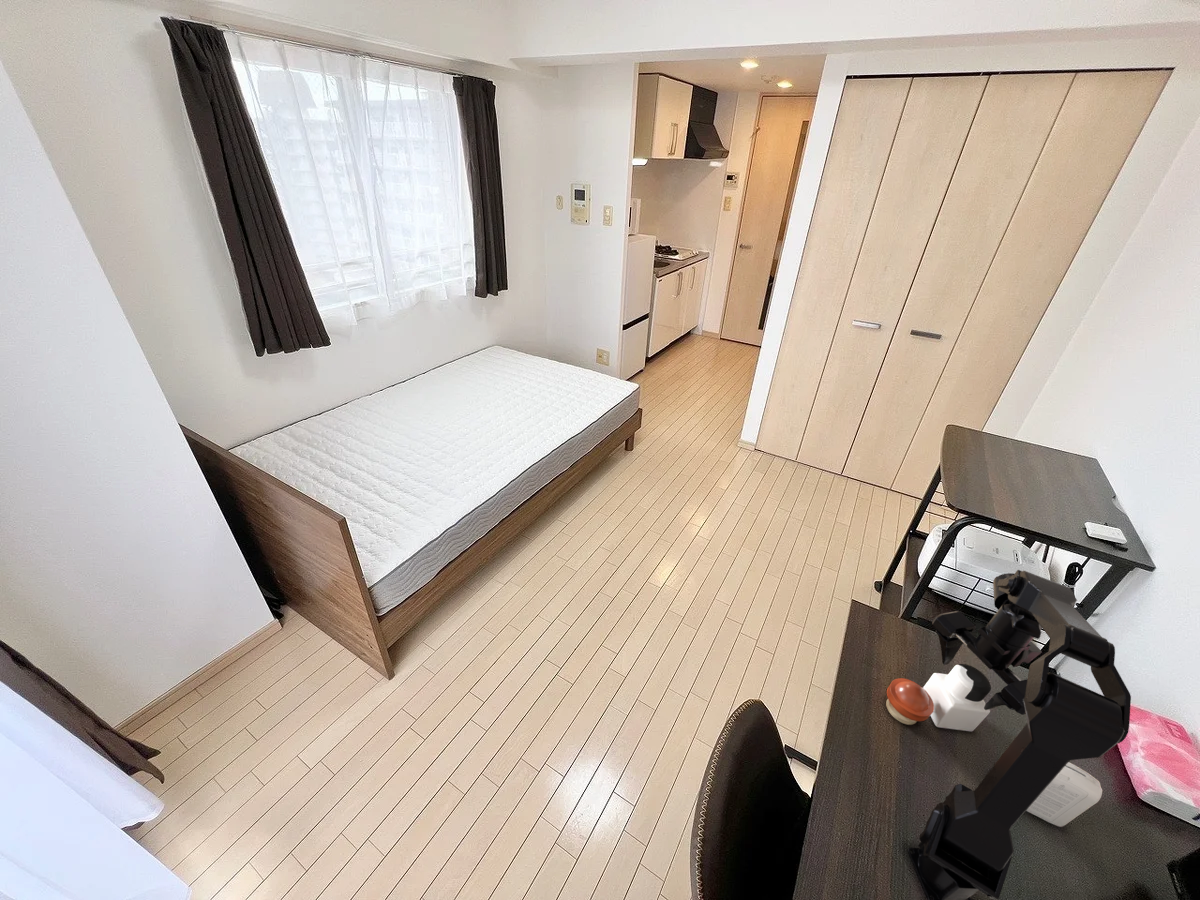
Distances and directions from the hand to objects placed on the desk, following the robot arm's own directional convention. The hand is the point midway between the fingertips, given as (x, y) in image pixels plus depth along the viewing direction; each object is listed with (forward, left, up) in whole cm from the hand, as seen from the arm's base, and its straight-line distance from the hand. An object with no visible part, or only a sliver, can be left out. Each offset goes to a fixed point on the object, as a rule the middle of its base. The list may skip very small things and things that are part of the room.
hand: (965, 685), depth 91 cm
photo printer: (-16, -5, -9) cm, 19 cm away
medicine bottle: (0, 0, -9) cm, 9 cm away
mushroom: (-1, +9, -9) cm, 12 cm away
